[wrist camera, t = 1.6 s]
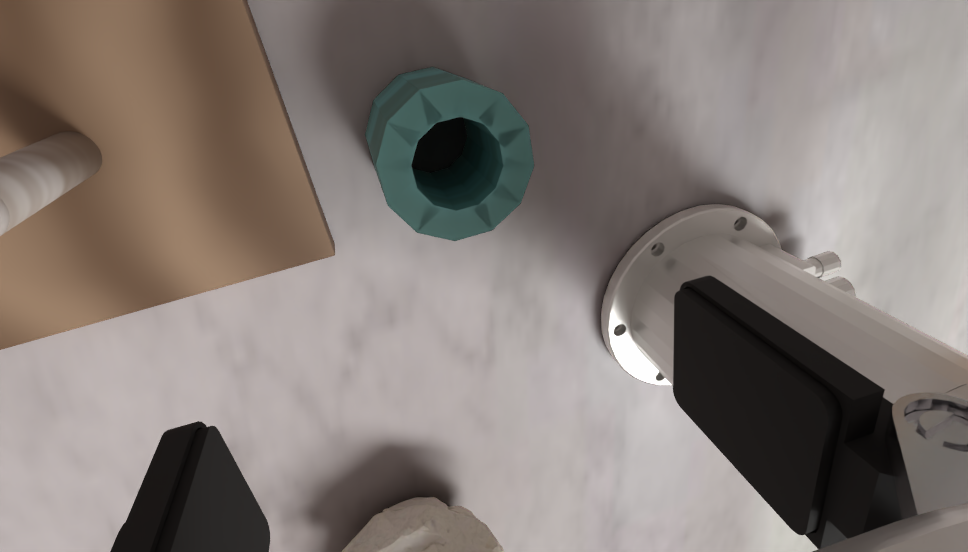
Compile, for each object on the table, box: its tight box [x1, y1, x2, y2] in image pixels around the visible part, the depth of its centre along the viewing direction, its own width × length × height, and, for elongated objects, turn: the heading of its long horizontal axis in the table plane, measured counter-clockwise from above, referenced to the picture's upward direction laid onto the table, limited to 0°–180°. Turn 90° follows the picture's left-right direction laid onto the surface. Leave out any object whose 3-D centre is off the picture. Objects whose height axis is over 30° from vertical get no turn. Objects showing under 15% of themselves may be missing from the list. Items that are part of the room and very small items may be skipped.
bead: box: [365, 67, 534, 241], centre depth 23 cm, size 6×6×6 cm
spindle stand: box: [0, 0, 335, 350], centre depth 18 cm, size 16×14×9 cm
